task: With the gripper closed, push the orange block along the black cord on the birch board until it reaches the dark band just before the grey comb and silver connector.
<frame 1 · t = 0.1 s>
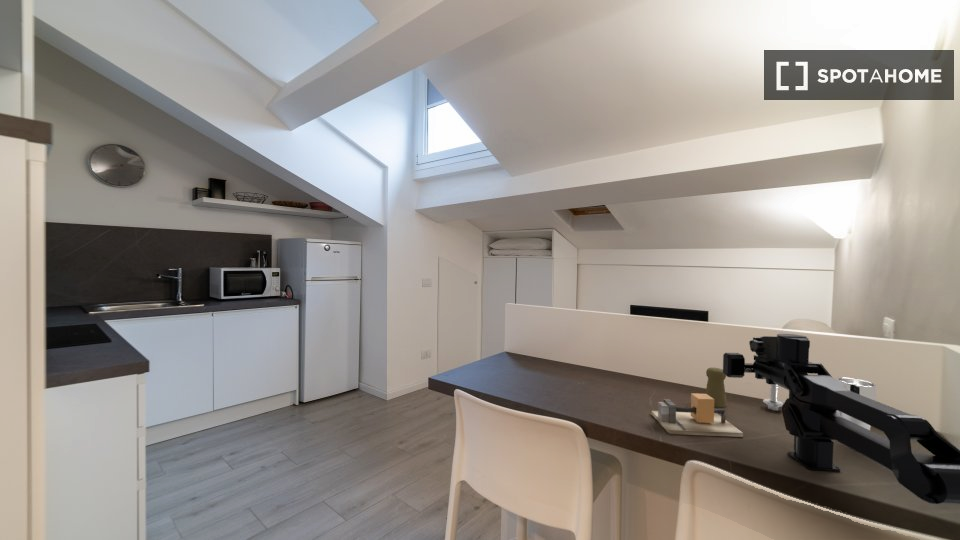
hand: (742, 357, 106), 17 cm above the countertop, tool horizontal, fingers open, 9 cm apart
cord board: (694, 424, 99), on the countertop
orange block: (702, 407, 99), point 5 cm above the countertop, slide at 0.0 cm
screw: (773, 409, 110), on the countertop
olive green shaker: (715, 403, 114), on the countertop
silver metal tumbler: (853, 442, 90), on the countertop
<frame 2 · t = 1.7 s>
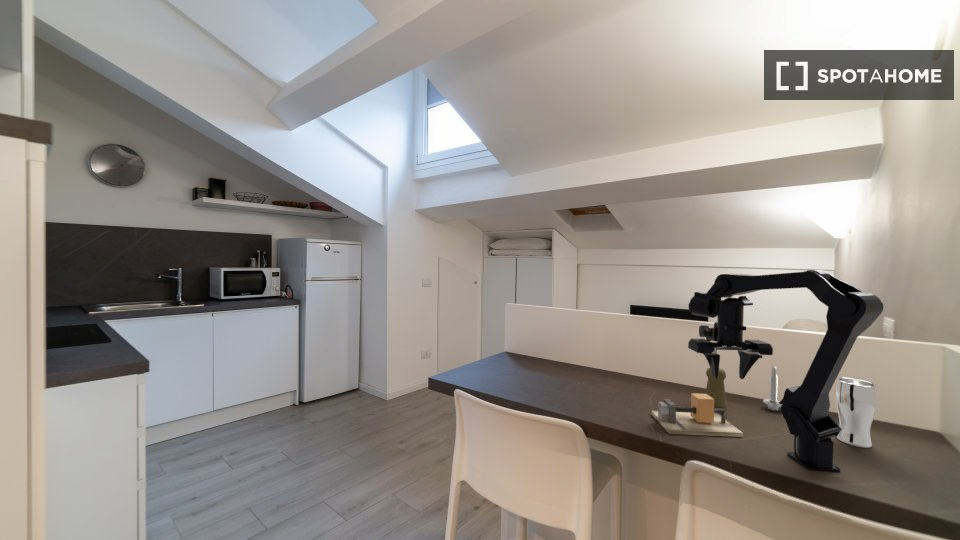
hand: (728, 378, 98), 13 cm above the countertop, tool pointing down, fingers open, 6 cm apart
nothing on the countertop moved.
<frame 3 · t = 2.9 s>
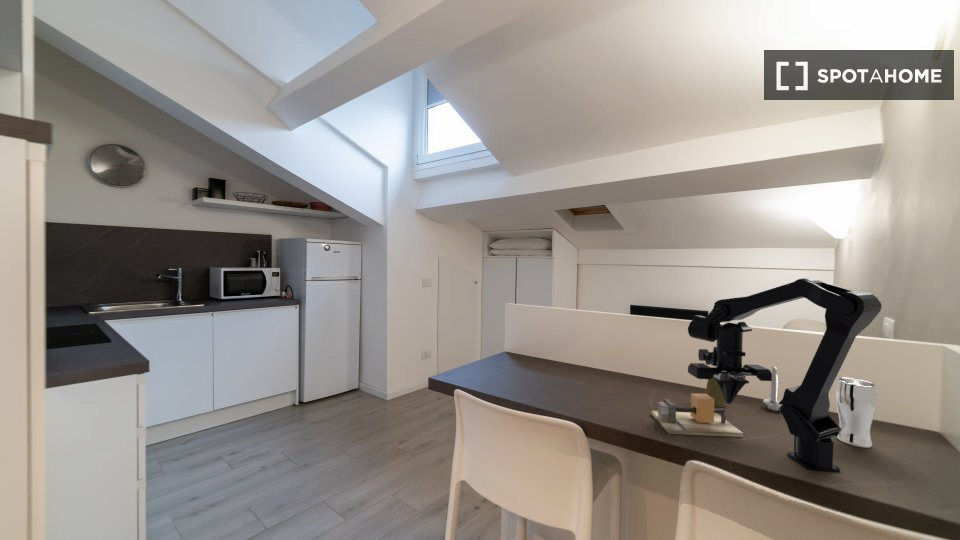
hand: (727, 403, 98), 6 cm above the countertop, tool pointing down, fingers closed
nothing on the countertop moved.
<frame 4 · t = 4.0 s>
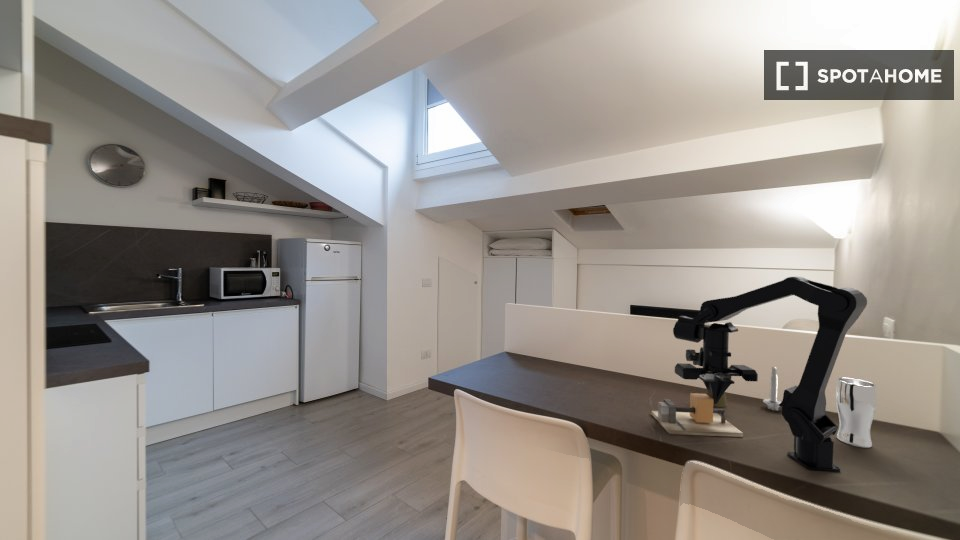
hand: (714, 403, 99), 6 cm above the countertop, tool pointing down, fingers closed
orange block: (701, 407, 99), point 5 cm above the countertop, slide at 0.2 cm, touching gripper
everything else where it was.
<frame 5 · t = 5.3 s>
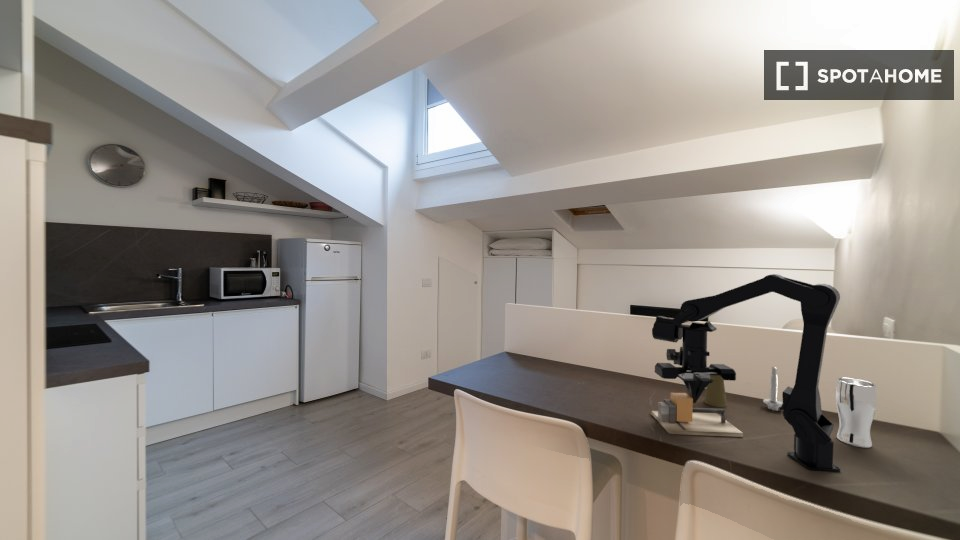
hand: (693, 402, 99), 6 cm above the countertop, tool pointing down, fingers closed
orange block: (681, 407, 99), point 5 cm above the countertop, slide at 5.5 cm, touching gripper
everything else where it was.
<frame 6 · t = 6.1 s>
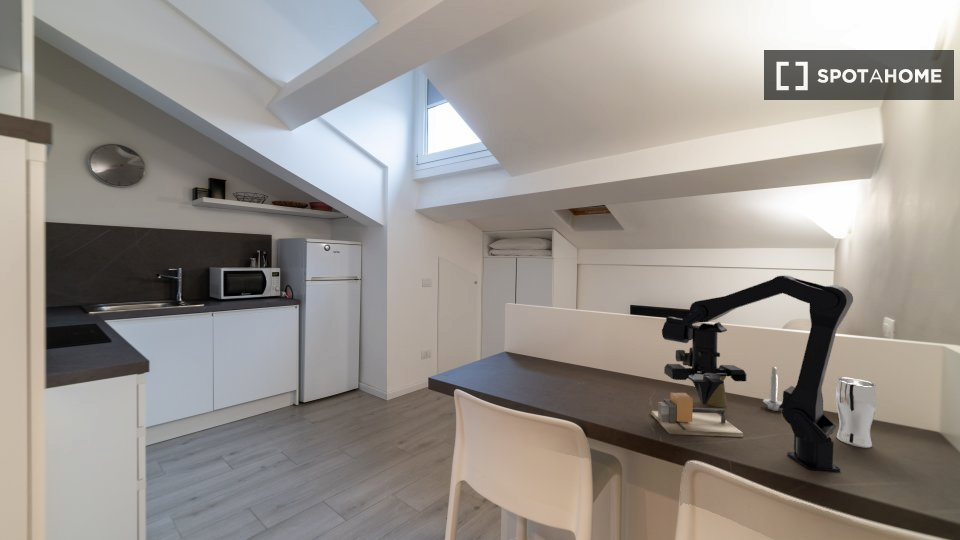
hand: (703, 403, 99), 6 cm above the countertop, tool pointing down, fingers closed
orange block: (681, 407, 99), point 5 cm above the countertop, slide at 5.5 cm
everything else where it was.
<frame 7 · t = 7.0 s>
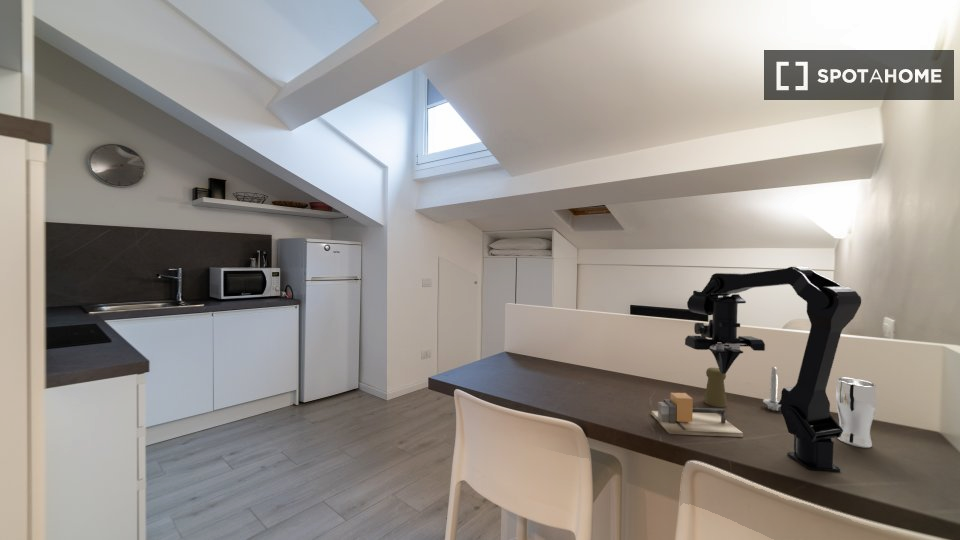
hand: (723, 373, 102), 13 cm above the countertop, tool pointing down, fingers closed
nothing on the countertop moved.
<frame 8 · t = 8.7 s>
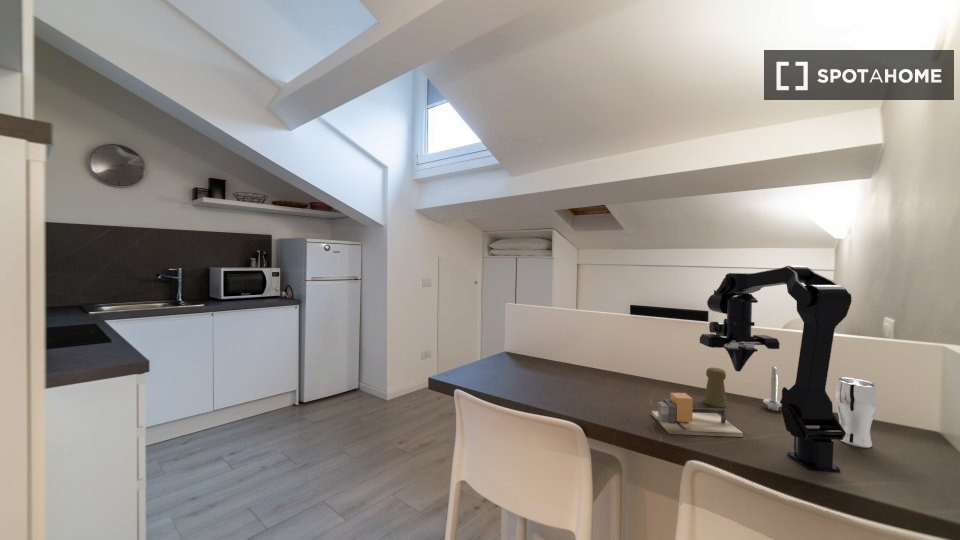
hand: (737, 371, 104), 13 cm above the countertop, tool pointing down, fingers closed
nothing on the countertop moved.
at the end: orange block slide at 5.5 cm; olive green shaker moved 0.2 cm from its start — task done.
